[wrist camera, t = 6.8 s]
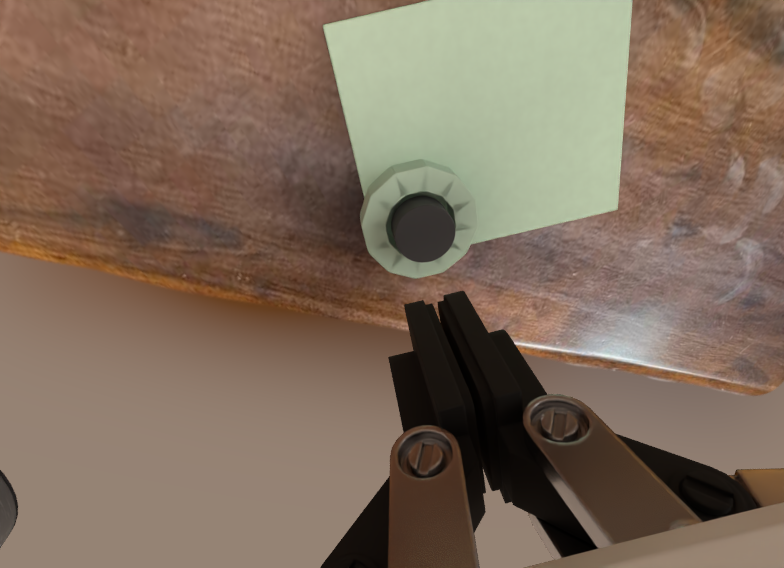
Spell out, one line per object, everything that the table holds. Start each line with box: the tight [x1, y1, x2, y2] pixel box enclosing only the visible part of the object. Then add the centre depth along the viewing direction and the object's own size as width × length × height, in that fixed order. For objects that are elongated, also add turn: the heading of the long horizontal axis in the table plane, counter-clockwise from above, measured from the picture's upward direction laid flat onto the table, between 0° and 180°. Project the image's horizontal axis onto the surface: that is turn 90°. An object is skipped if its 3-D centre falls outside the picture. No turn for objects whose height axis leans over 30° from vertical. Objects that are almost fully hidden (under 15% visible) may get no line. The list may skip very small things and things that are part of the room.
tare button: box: [391, 196, 455, 263], centre depth 21 cm, size 3×3×2 cm
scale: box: [323, 0, 632, 279], centre depth 21 cm, size 14×12×3 cm
